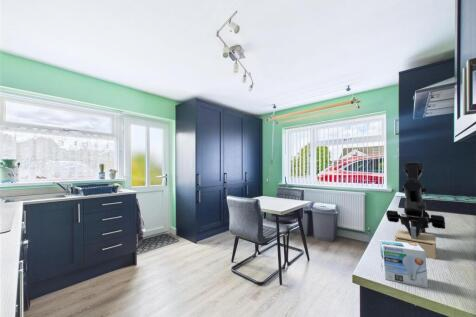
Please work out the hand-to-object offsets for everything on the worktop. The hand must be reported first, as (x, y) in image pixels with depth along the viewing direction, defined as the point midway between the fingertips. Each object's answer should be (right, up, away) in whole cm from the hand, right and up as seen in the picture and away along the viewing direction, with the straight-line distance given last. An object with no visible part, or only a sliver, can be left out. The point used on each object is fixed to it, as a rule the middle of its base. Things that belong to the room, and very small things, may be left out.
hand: (413, 236), depth 80 cm
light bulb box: (-20, -7, -18) cm, 28 cm away
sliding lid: (+4, -2, +4) cm, 6 cm away
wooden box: (+3, -7, +3) cm, 8 cm away
